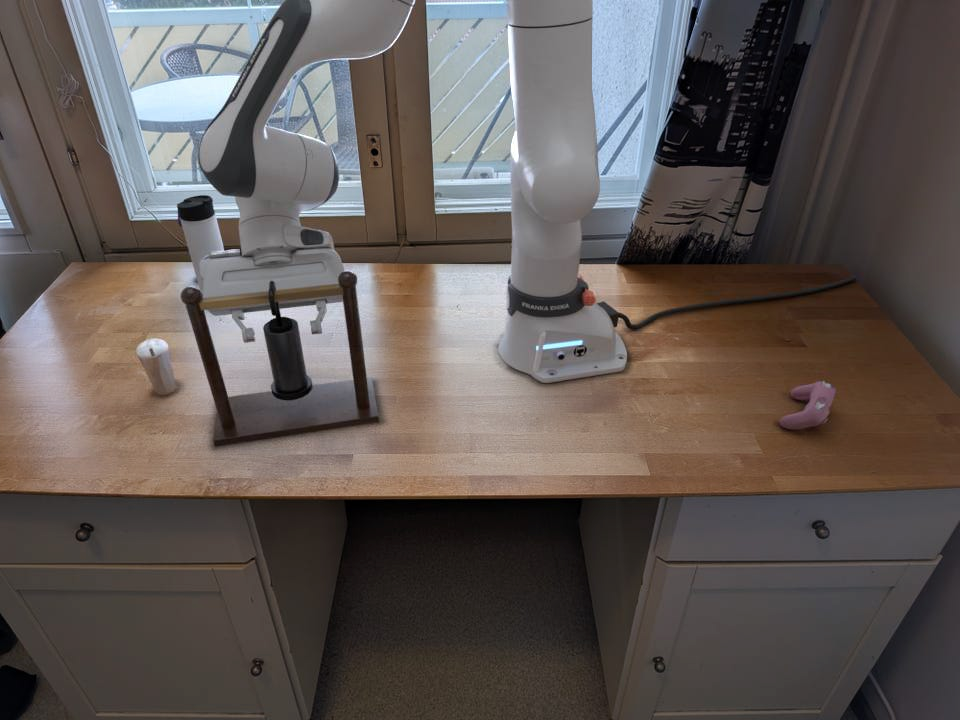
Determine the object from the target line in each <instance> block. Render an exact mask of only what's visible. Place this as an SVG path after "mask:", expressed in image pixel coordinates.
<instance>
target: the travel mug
mask: <svg viewBox="0 0 960 720" xmlns="http://www.w3.org/2000/svg"><path fill="white" fill-rule="evenodd" d="M176 208H177V213H178V212H179V215H180V220H181V224H182V227H181V228H182V231H183V235H184V238H185V241H186V246H187V249H188V253H189V256H190V260H191V264H192V267H193V271H194V274H195V278H196V282H197V286H198V289H199V290H200V291H201V293H202V298H203V283H204V281H203V280H202V278H201V276H200V270H199V263H200V261H201V259H202V258H203V257H205V256H206V255H209V253H210V252H214V251H218V252H222V251H225V247H224V244H223V240H222V235H221V230H220V227H219V223H218V218H217V216H216V215H217V214H216V211H215V207H214V200H213V197H212V196H210V195H207V194H200V195H194V196H190V197H187V198H185V199H183V201H180V202H179V203H177V204H176ZM207 259H210V258H207Z"/></svg>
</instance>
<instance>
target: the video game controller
mask: <svg viewBox="0 0 960 720" xmlns="http://www.w3.org/2000/svg"><path fill="white" fill-rule="evenodd" d="M836 392H837V389H836V388H835V387H834V386H833V385H832V384H830V383H827V382H825V380H823V381H816V382H813V383H809V384H804V385H799V386H796V387H794V388H792V390H791V391H790V396H791V398H792V399H794V400H796V401H804V402H807V401H809V402H808V403H807V404H806V405H805V407H804V409H803V410H801V411H799V412H795V413H790V414H786V415H784V416H782V417H781V418H780V420H779V424H780V426H781V428H784V429H788V430H792V431H798V430H804V429H808V428H811V427H812V428H813V427H817V426H819V425H823V424H826V423H827V421H828V416H829V414H830V407H831V405H832V403H833V401H834V399H835V394H836Z"/></svg>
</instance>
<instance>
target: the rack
mask: <svg viewBox="0 0 960 720" xmlns="http://www.w3.org/2000/svg"><path fill="white" fill-rule="evenodd" d="M344 270H345V271H343V272H341V273H340V274H339V276H338V283H339V284H331V285H321V286H312V287H302V288H293V289H283V290H274V299H275V302H282V301H291V300H300V299H309V298H318V297H328V296H337V295H342V298H343V302H342V305H343V311H344V319H345V328H346V333H347V334H346V335H347V342H348V350H349V356H350V363H351V364H350V365H351V373H352V378H353V379H351V380H344V381H336V382H329V383H320V384H314V385H313V384H312V385H313V388H312V390H311V392H310V393H309V394H307V395H306V396H304V397H302V398H299V399H296V400H280V399H277V398H275V397H274V396H273V394H272V391H271V390H269V391H262V392H255V393H254V392H253V393H248V394H240V395H233V396H229V394H228V391H227V387H226V384H225V380H224V376H223V373H222V369H221V366H220V363H219V362H220V361H219V359H218V354H217V351H216V347H215V344H214V341H213V337H212V333H211V329H210V326H209V323H208V319H207V316H206V312H205V311H207V310H209V309H218V308H227V307H236V306H245V305H255V304H264V303H269V298H268V295H269V291H265V292H255V293H246V294H236V295H227V296H218V297H208V298H203V297H202V293H201V291H200V288H199V287H196V286H193V285H190V286H186V287H185V288H183V289H182V290H181V292H180V300H181V302H182V303H183V304H184V305H185V308H186V312H187V314H188V315H187V316H188V318H189V321H190V325H191V328H192V332H193V336H194V339H195V342H196V345H197V348H198V349H197V350H198V352H199V356H200V359H201V362H202V366H203V368H204V372H205V375H206V378H207V379H206V380H207V382H208V386H209V389H210V392H211V395H212V399H213V402H214V405H215V406H214V407H215V410H216V415H215V423H214V430H213V437H212V442H213V445H214V447H219V446H225V445H233V444H239V443H245V442H246V443H247V442H253V441H260V440H266V439H267V440H268V439H272V438H280V437H286V436H293V435H301V434H306V433H313V432H321V431H327V430H334V429H339V428H347V427H353V426H359V425H367V424H373V423H379V422H380V418H379V417H380V416H379V411H378V406H377V405H378V404H377V400H376V393H375V389H374V383H373V378H372V377H367V367H366V360H365V351H364V343H363V335H362V325H361V318H360V309H359V302H358V301H359V300H358V292H357V291H358V290H357V284H358V276H357V274H356V273H355V272H354V271H352V270H349V269H347V270H346V269H344Z"/></svg>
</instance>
